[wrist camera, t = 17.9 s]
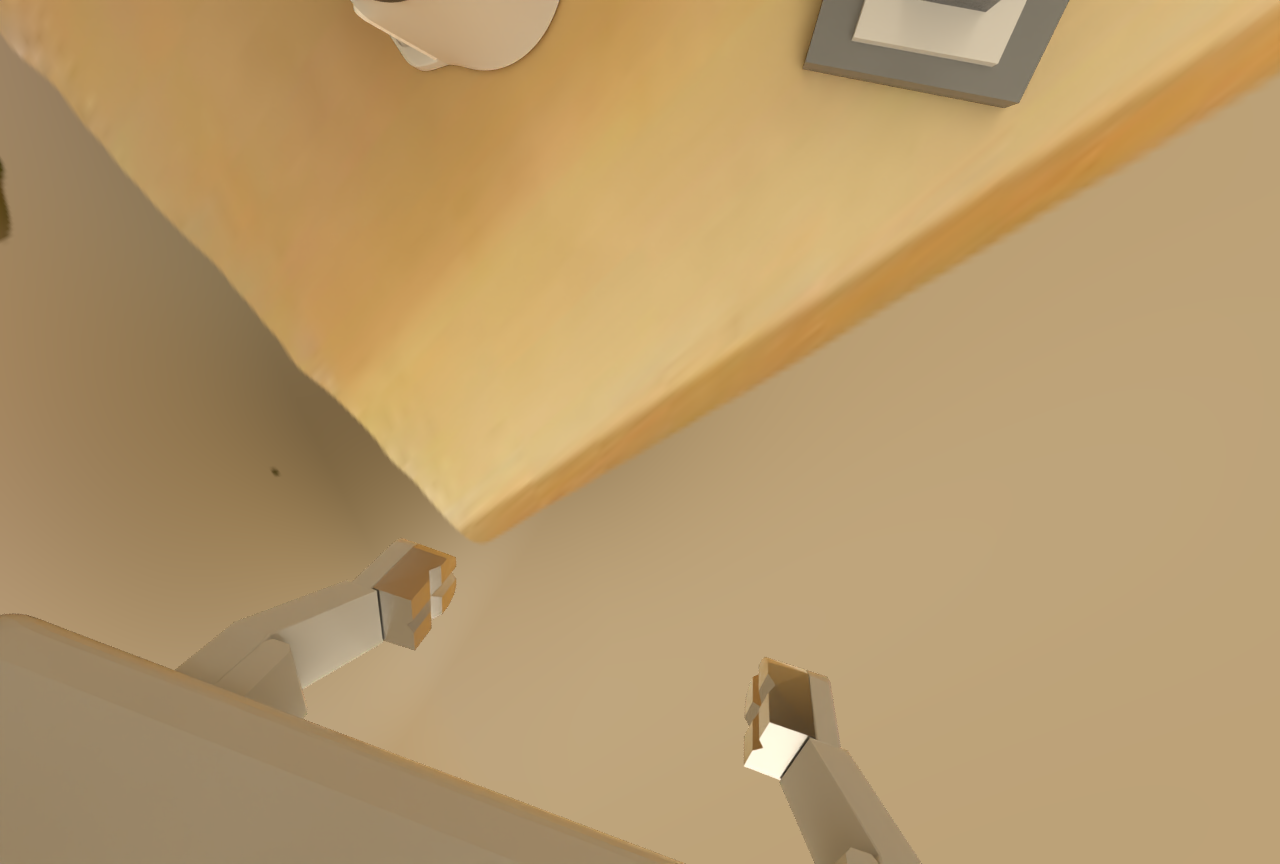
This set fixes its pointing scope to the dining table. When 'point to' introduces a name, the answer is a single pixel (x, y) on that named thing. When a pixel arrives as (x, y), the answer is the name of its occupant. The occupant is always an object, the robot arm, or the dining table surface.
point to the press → (936, 45)
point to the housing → (968, 4)
